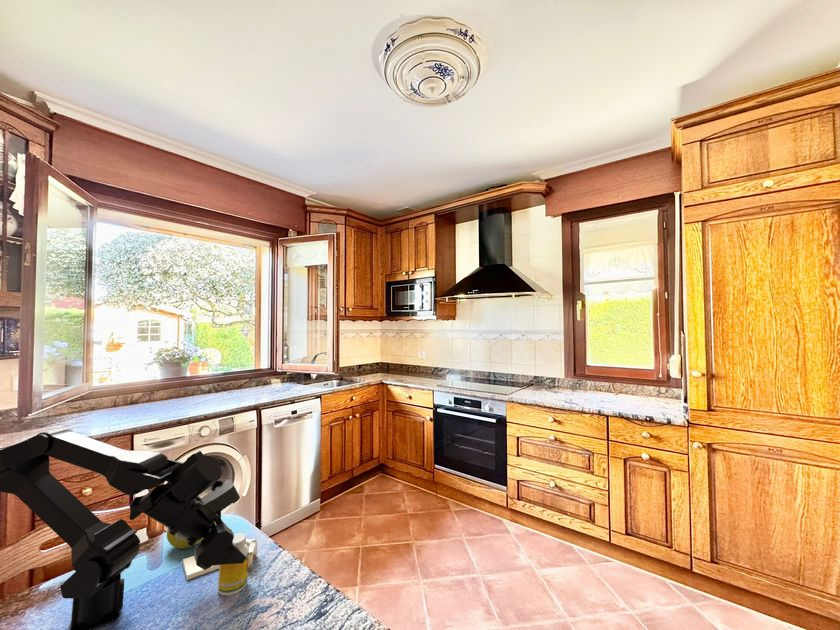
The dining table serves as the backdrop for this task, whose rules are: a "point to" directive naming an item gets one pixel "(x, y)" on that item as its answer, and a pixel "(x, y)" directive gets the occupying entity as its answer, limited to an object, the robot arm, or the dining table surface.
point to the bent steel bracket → (251, 551)
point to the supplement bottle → (234, 570)
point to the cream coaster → (195, 568)
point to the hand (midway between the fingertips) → (239, 549)
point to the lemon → (179, 541)
